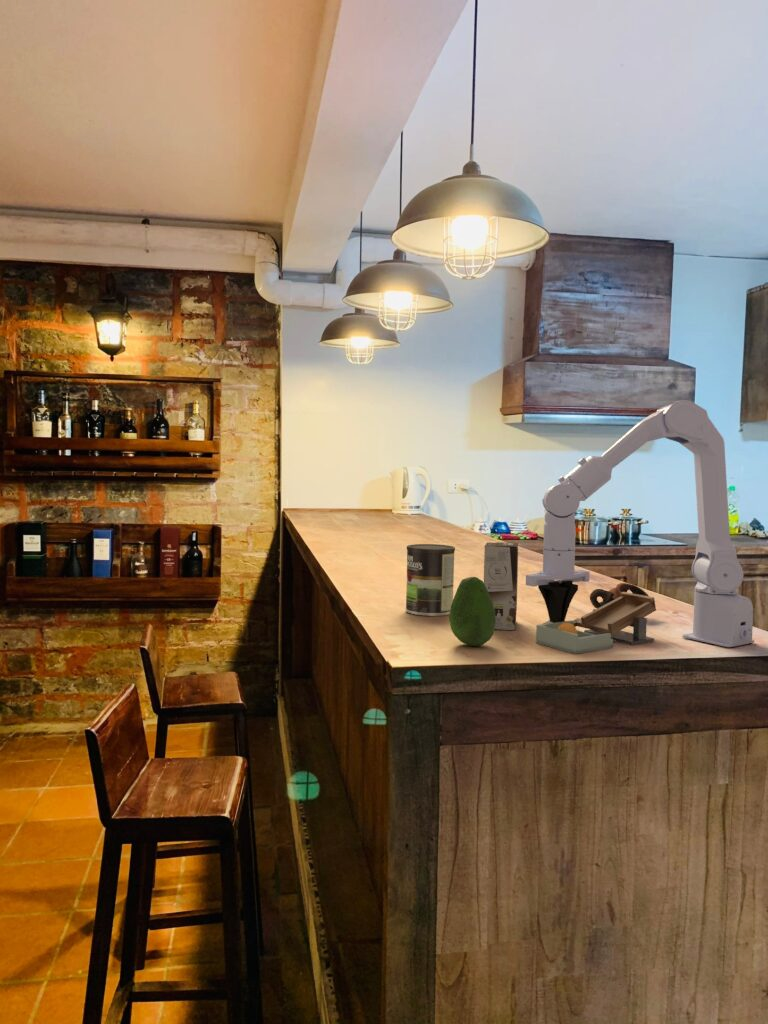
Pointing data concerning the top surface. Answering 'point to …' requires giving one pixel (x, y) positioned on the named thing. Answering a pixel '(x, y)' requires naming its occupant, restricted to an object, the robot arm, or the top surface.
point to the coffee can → (429, 579)
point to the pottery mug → (613, 594)
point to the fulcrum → (630, 638)
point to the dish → (571, 639)
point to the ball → (567, 628)
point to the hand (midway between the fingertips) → (557, 622)
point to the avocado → (472, 613)
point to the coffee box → (502, 581)
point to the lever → (617, 613)
